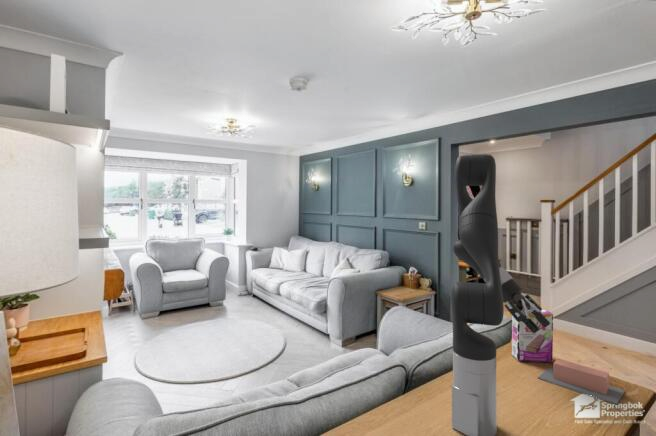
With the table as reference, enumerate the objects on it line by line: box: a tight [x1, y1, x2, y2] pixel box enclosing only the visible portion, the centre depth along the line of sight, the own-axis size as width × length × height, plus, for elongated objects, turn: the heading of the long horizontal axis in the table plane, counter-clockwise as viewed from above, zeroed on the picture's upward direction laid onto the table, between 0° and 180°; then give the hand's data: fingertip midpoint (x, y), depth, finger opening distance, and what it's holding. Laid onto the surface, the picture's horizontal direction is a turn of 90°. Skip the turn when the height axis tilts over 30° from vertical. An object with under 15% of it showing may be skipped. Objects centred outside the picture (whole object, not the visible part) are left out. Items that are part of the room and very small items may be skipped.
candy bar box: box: [511, 309, 554, 363], centre depth 111 cm, size 11×5×16 cm, turn 84°
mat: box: [537, 366, 626, 406], centre depth 94 cm, size 10×18×1 cm, turn 39°
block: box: [552, 358, 610, 395], centre depth 94 cm, size 4×4×12 cm
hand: (542, 328), depth 99 cm, fingers open, 8 cm apart
